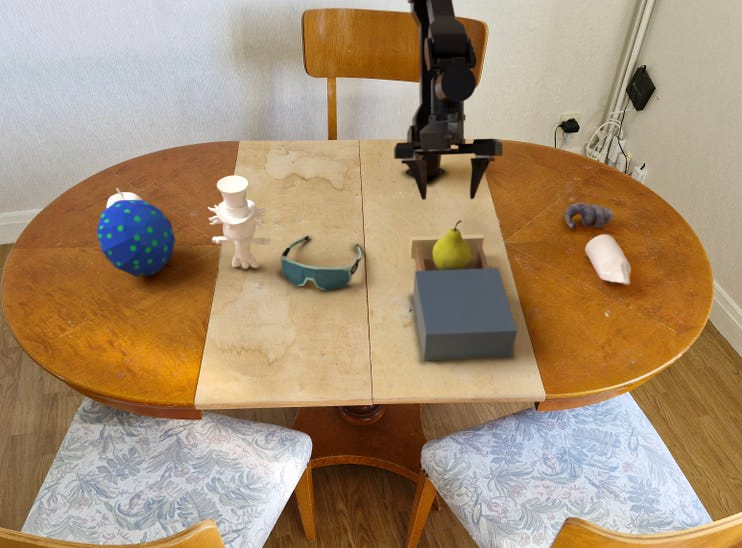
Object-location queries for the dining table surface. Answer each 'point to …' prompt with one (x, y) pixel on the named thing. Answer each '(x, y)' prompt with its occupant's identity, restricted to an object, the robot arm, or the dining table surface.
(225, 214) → the figurine
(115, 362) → the dining table surface
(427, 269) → the drawer
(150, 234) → the polka dot ball
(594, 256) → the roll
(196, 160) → the dining table surface
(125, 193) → the plain white apple
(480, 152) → the robot arm
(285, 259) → the sunglasses
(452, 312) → the cabinet
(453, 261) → the fruit
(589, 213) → the seashell
